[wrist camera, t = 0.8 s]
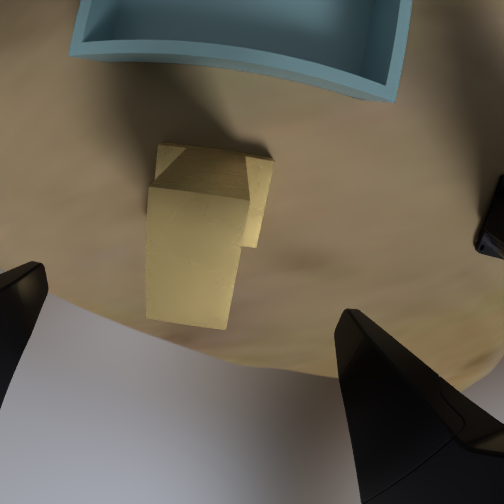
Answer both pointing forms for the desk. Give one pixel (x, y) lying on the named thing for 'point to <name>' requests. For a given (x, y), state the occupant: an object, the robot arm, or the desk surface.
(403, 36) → the blue rectangular open bin
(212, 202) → the brass bracket
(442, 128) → the desk surface
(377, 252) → the desk surface
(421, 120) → the desk surface
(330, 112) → the desk surface
